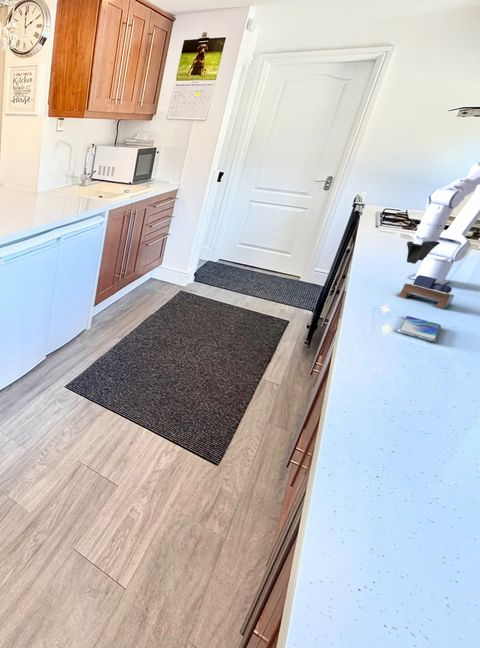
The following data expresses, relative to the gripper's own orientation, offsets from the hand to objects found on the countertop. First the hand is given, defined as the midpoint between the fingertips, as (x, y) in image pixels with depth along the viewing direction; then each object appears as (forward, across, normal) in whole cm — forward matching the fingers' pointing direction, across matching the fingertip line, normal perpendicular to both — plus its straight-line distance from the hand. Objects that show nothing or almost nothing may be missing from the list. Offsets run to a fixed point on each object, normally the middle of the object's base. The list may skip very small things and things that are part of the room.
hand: (414, 261), depth 142 cm
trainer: (+6, +12, +8) cm, 15 cm away
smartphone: (+9, +44, +15) cm, 47 cm away
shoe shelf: (+9, +12, +8) cm, 17 cm away
